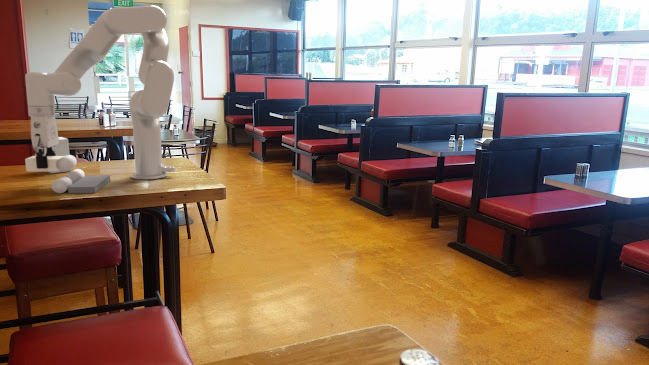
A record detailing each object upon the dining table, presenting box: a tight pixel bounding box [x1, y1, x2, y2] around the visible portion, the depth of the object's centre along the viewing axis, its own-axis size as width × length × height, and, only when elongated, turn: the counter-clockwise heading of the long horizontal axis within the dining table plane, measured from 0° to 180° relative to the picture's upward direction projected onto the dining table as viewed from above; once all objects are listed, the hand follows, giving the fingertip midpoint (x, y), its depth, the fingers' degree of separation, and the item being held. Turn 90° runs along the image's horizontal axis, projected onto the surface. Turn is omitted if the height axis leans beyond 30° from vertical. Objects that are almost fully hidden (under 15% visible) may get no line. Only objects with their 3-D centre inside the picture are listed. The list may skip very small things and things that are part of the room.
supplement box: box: [42, 136, 72, 174], centre depth 188 cm, size 7×7×13 cm
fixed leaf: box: [51, 168, 111, 194], centre depth 164 cm, size 13×18×4 cm
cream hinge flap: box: [24, 154, 77, 172], centre depth 162 cm, size 13×6×4 cm, turn 99°
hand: (46, 165), depth 161 cm, fingers closed on cream hinge flap, 6 cm apart
